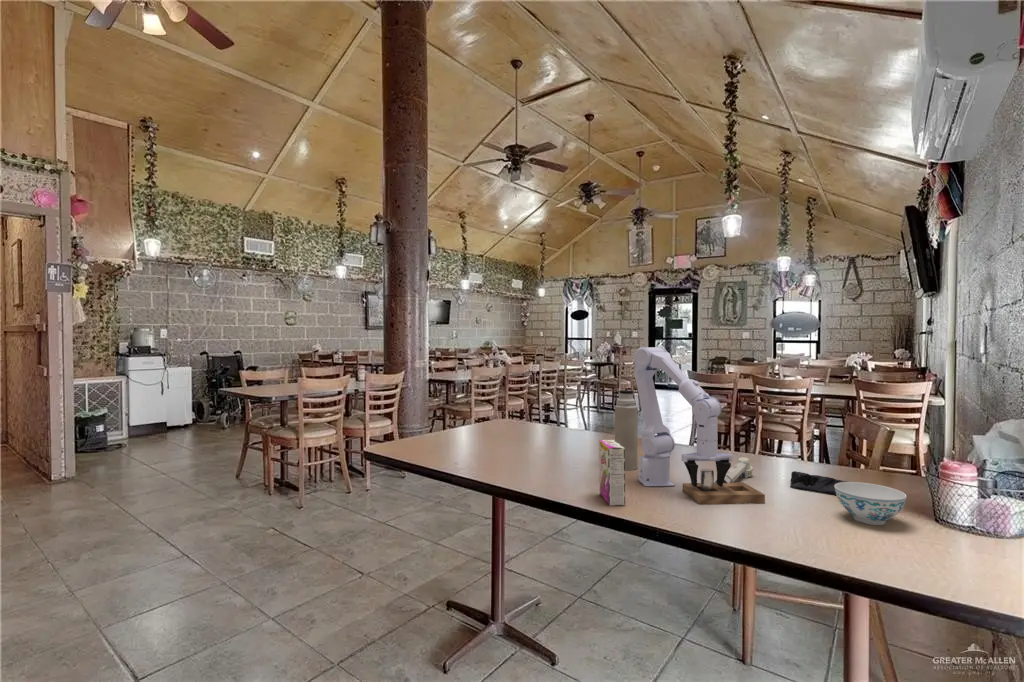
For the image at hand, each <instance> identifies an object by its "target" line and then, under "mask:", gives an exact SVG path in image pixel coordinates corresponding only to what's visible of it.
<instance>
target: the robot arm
mask: <svg viewBox="0 0 1024 682" xmlns="http://www.w3.org/2000/svg"><path fill="white" fill-rule="evenodd" d="M632 359H633V362H634V378H635V384H636V387H637V391H638V392H637V393H638V397H639V401H640V406H641V411H642V415H643V419H644V425H645V427H644V429H643V431H642V432H641V449H642V451H643V452H644V455H640V456H639V458H638V479H637V480H638V481H639V482H640V483H641V484H642V485H643V486H644V487H673V486H674V487H675V483H673V482H672V481H671V476H670V474H671V473H670V472H671V471H670V469H671V466H670V465H671V459H670V458H671V455H672V452H673V451H674V450H675V447H676V446H675V445H676V442H675V440H674V438H673V436H672V435H671V432H670V429H669V427H668V426H666V425H665V424H664V423H663V419H662V413H661V409H660V404H659V401H658V396H657V392H656V391H657V390H656V388H655V383H654V378H653V377H654V375H655V374H656V372H658V371H659V370H662V371H663V372H664V373H665V374H666V375H667V376H668V377H669V378H670V379H671V380H672V381H673V382H674V383H675V384H676V385H677V386H678V393H679V394H681V396H682V397H683V398H684V399H685V400H686V402H687V403H688V404H689V405H690V406H691V407H692V408H691V411H692V414H693V416H694V417H695V422H696V452H691V453H681V461H682V462H683V463H684V466H685V467H686V470H687V472H688V476H689V478H690V481H691V482H690V483H692V486H694V487H697V483H698V470H699V464H697V462H715V466H716V480H717V485H719V486H720V487H722V486H723V482H724V479H725V476H726V474H727V472H728V470H730V469H731V468H732V463H731V462H733V461H734V454H731V453H722V452H719V451H718V445H719V444H718V440H719V439H718V428H719V427H718V417H719V416H720V415H721V413H722V411H723V410H722V404H721V402H720V401H719V399H718V398H716V397H712V396H710V394H709V393H707V392H706V391H705V390H704V388H702V387H701V386H700V382H698V380H694V379H692V378H690V379H689V378H687V376H686V375H685V374H684V373H683V371H682V370H681V368H680V367H679V366H678V365H677V364H676V363H675V361H674V360H673V359H672V355H671V353H670V352H668V351H667V349H666V348H664V347H663V346H657V347H654V346H653V347H652V346H651V347H645V346H640V347H639V348H638V349H637V350H636V351H635V353H634V354H633V358H632Z"/></svg>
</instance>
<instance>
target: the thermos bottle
mask: <svg viewBox="0 0 1024 682" xmlns="http://www.w3.org/2000/svg"><path fill="white" fill-rule="evenodd" d="M618 393H619V394H618V395H619V396H618V399H616V405H615V406H614V440H615V441H616V442H618V443H619V444H620V445H621V446H623V447H624V448H625V471H635V470H634V469H636V470H638V405H636V403H637V402H636V399H635V398H634V391H633V390H628V389H627V390H626V389H625V390H623V389H622V390H619V392H618Z"/></svg>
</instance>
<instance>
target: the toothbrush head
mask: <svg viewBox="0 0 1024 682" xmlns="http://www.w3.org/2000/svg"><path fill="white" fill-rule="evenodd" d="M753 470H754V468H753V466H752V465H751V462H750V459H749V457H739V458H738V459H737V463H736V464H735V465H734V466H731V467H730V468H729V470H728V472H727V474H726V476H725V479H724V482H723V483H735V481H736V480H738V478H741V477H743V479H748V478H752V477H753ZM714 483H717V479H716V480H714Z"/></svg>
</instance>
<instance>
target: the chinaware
mask: <svg viewBox="0 0 1024 682" xmlns="http://www.w3.org/2000/svg"><path fill="white" fill-rule="evenodd" d="M834 487H835V492H836V495H835V496H837V499H838V502H840V504H841V505H842V507H843V508H844V509H845V510H846V511H847V512H848V513H850V514H851V515H852V518H853V519H854V520H855V521H857V522H859V523H863V524H867V525H874V526H883V525H885V524H886V521H888V520H891V519H892V518H895V517H896V516H897V515H899V513H901V511H902V510H903V508H904V506H905V504H906V502H907V494H906V493H905V492H903V491H901V490H899V489H896V488H894V487H893V488H892V487H890V486H886V485H882V484H875V483H868V482H859V481H848V482H841V483H837V484H835V485H834Z"/></svg>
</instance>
